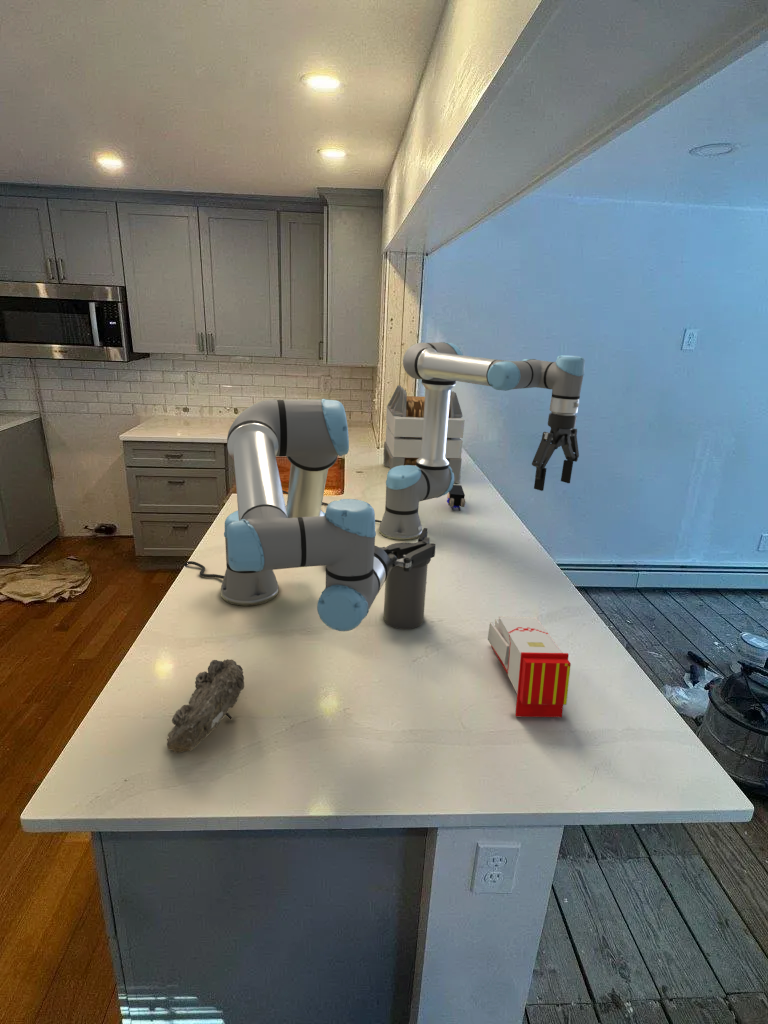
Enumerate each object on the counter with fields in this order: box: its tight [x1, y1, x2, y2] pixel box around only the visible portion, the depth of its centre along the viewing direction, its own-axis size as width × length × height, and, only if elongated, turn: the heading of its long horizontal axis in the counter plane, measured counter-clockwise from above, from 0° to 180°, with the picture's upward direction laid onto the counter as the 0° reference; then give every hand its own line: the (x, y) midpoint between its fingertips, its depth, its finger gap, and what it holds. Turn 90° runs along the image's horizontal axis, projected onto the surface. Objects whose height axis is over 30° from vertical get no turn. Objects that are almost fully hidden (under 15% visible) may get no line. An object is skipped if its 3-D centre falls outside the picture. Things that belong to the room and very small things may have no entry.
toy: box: [487, 616, 572, 718], centre depth 123 cm, size 12×13×30 cm
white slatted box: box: [383, 384, 465, 484], centre depth 268 cm, size 34×33×41 cm
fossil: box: [166, 658, 245, 754], centre depth 106 cm, size 22×10×15 cm
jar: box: [383, 564, 429, 630], centre depth 142 cm, size 10×10×18 cm
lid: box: [386, 542, 432, 568], centre depth 139 cm, size 12×12×2 cm
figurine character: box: [446, 484, 466, 511], centre depth 229 cm, size 7×8×15 cm
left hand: (393, 529), depth 119 cm, fingers open, 13 cm apart
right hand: (552, 485), depth 166 cm, fingers open, 13 cm apart
